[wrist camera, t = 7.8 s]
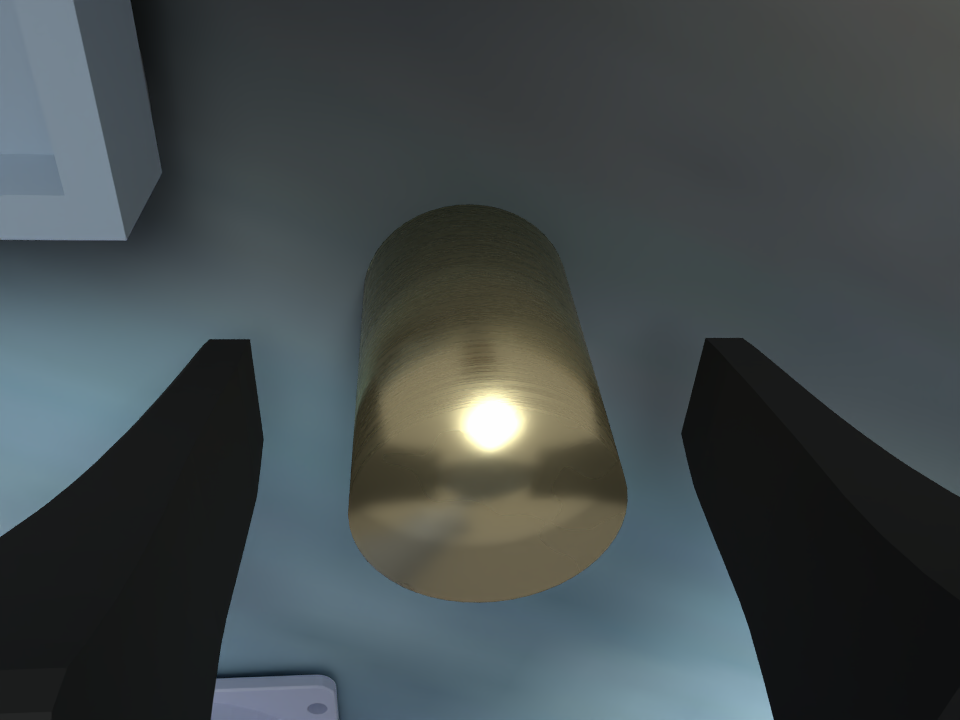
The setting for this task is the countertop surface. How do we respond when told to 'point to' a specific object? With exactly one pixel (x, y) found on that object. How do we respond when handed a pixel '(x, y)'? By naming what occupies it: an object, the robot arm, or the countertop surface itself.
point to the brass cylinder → (478, 414)
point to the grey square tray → (73, 121)
